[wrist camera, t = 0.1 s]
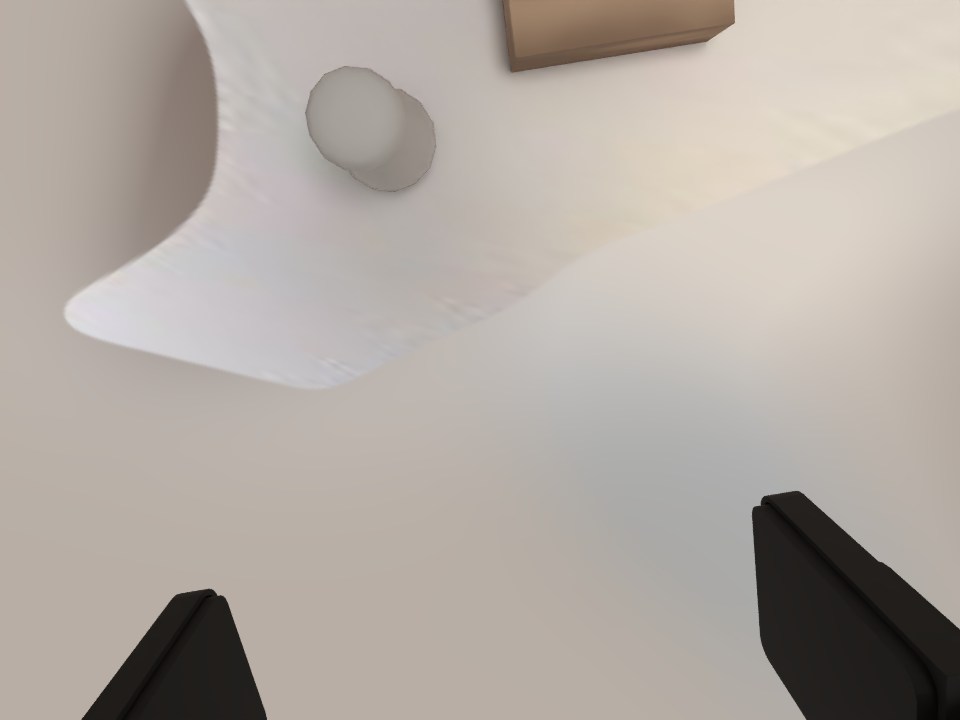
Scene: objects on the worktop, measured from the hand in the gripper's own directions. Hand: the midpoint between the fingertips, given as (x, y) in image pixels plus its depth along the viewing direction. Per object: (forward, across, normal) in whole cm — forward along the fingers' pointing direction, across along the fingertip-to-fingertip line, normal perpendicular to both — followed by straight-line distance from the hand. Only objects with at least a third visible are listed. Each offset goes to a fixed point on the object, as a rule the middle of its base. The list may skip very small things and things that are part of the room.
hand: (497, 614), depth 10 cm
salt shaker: (+31, +4, -11) cm, 33 cm away
